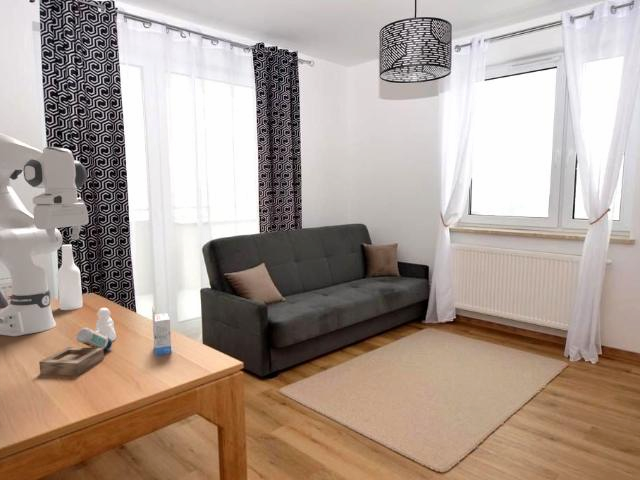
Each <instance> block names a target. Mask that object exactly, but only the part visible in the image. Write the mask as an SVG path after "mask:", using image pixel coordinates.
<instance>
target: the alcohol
mask: <svg viewBox="0 0 640 480" xmlns="http://www.w3.org/2000/svg"><path fill="white" fill-rule="evenodd" d="M72 246H73V245H72V244H68V243H67V244H62V245H61V265H60V267H59V268H58V270H57V274H56V275H57V276H56V277H57V287H58V297H59V298H58V300H59V309H60V310H61V311H62V310H63V311H72V310H77V309H81V308H82V307H83V306H84V305H83V293H82V292H83V291H82V280H81V271H80V268H79V267H78V265H76V264H75V262H74V261H75V260H74V254H73V247H72Z"/></svg>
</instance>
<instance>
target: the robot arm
mask: <svg viewBox="0 0 640 480" xmlns="http://www.w3.org/2000/svg"><path fill="white" fill-rule="evenodd" d="M22 173H23V178H24V180H25V182H26V183H27V184H28V185H29V186H31V187H32V188H36V189H37V188H38V189H44V192H42V193H40V194H39V195H36V196H33V197H32V204H33V205H34V207H33V212H32V213H33V214H32V213H31V212H30V211H29V210H28V209H27V208H26V206H25V205H24V203H23V201H22V200H21V199H20V198H19V196H18V194H17V193H16V191H15V190H14V188H13V187H12V185H11V181H10V179H11V180H12V181H13V180H17V179H18V177H19V175H21V174H22ZM87 179H88V172H87V170H86V167H85V166H84V165H83V164H82V163H81V162H80V161H79V160H76V159H74V155H73V152H72V150H70V149H68V148H65V147H58V146H46V147H44V148H43V150H40V149H39V148H36V147H34V146H30V145H29V144H27V143H24V142H22V141H20V140H18V139H17V138H14V137H12V136H10V135H7V134H6V133H2V132H0V227H1V228H2V230H0V262H1V263H2V264H3V265H4V266H5V267H6V268H7V270H8V272H9V273H10V278H11V282H12V284H11V285H12V290H13V291H12V292H13V293H12V294H11V295H9V296H7V299H6V300H10V301H9V304H8V305H7V306H6V307H4V308H3V309H2V310H1V311H0V335H2V336H8V337H18V336H23V335H29V334H30V335H31V334H36V333H40V332H44V331H48V330H50V329H53V328H54V327H56V326H57V322H56V321H55V318H54V314H53V312H52V311H53V310H52V307H51V291H50V290H49V283H48V272H47V270H46V269H44V267H42V266H40V265H36V264H35V263H34V262H33V259H32V257H34V256H40V255H47V254H51V253H53V252H56V251H58V250H60V248H62V245H63V235H62V233H61V232H60V230H59V229H60V228H67V227H72V228H71V229H72V230H73V231H72V233H71V234H70V239H71V240H79V239H80V235H79V234H80V232H81V229H82V226H86V225H88V223H89V222H90V221H89V220H90V219H89V213H88V209H87V205H86V204H85V201H84V200H83V199H82V198H81V197H78V189H80V188H81V187H82V186H84V185H85V183H86V182H87ZM3 228H4V229H3Z"/></svg>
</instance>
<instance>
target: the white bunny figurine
mask: <svg viewBox="0 0 640 480" xmlns="http://www.w3.org/2000/svg"><path fill="white" fill-rule="evenodd" d="M111 313H112V312H111V311H110V310H109V308H107V307H101V308H100V309H99V310H98V312H97V313H96V314H95V315H96V316H98V318H97V321H96V323H95V329H94V331H95V332H97V333H99V334H101V335H103V336H105V337H107V338H110V339H111V340H112V342H113V341H114V342H115V339H117V333H116V331H115V326H114V325H115V323H114V320H113V319H112V317H110V315H111Z"/></svg>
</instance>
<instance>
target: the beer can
mask: <svg viewBox="0 0 640 480" xmlns="http://www.w3.org/2000/svg"><path fill="white" fill-rule="evenodd" d="M76 341H77V342H78V343H80V344H83V345H86V346H88V347H89V348H103V352H104V353H105V352H109V351H110V350H111V349H112V348H113V345H114V343H113V341H112V340H111V339H110V338H107V337H105V336H103V335H101V334H99V333H97V332H95V330H93V329H91V328H89V327H83V328H81V329H80V330H79V331H78V333H77V335H76Z"/></svg>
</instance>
